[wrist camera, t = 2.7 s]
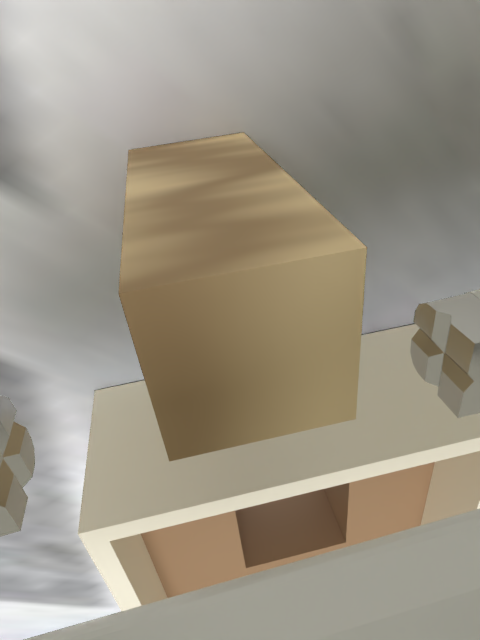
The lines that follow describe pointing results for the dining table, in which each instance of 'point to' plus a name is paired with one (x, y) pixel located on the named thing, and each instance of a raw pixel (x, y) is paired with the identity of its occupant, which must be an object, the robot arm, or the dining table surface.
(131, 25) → the dining table surface
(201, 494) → the bore box
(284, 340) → the peg
